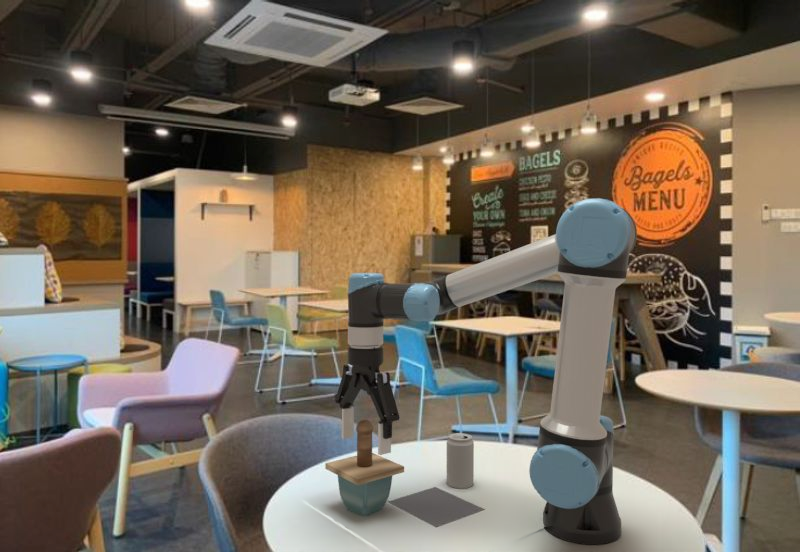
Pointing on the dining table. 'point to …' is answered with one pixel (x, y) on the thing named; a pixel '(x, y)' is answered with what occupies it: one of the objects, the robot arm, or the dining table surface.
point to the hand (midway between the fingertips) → (365, 445)
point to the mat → (436, 506)
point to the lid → (364, 460)
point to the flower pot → (365, 495)
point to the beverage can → (460, 461)
